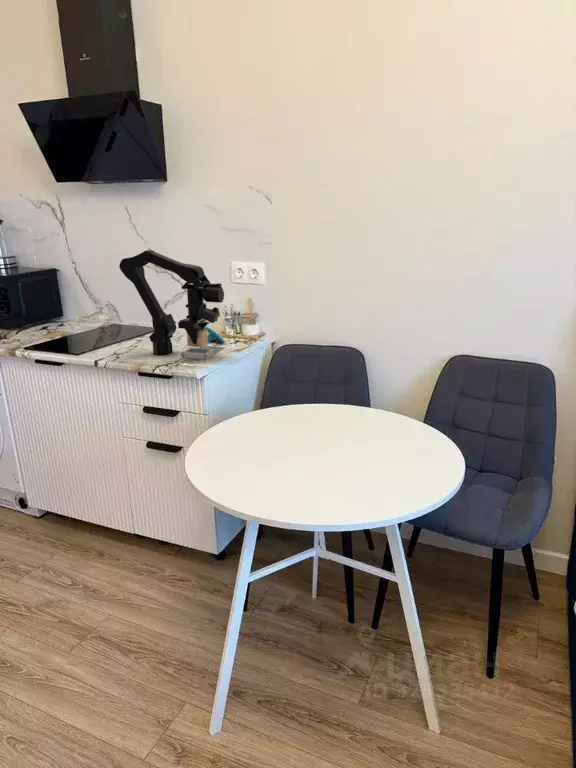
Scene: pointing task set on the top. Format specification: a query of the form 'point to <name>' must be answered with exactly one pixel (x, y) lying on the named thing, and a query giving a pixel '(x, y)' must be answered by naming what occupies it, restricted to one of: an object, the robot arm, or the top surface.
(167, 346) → the robot arm
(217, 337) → the gear
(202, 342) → the cardboard box
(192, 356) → the gray plate
